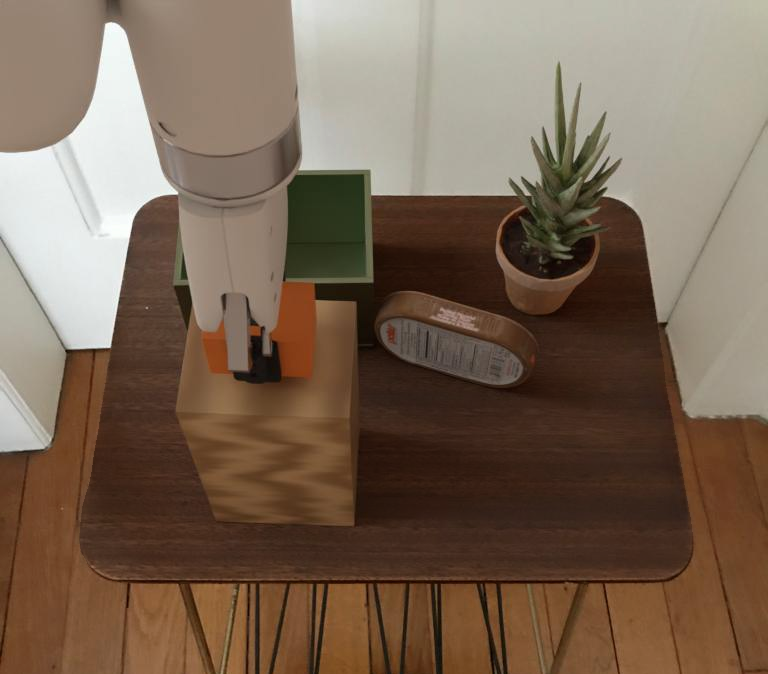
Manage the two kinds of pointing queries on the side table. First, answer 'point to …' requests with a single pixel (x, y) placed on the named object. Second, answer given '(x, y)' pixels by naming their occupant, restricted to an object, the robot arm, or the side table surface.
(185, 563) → the side table surface
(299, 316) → the block
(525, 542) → the side table surface
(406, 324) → the tin
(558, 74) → the potted plant
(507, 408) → the side table surface
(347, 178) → the trash bin
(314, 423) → the wood grain block
